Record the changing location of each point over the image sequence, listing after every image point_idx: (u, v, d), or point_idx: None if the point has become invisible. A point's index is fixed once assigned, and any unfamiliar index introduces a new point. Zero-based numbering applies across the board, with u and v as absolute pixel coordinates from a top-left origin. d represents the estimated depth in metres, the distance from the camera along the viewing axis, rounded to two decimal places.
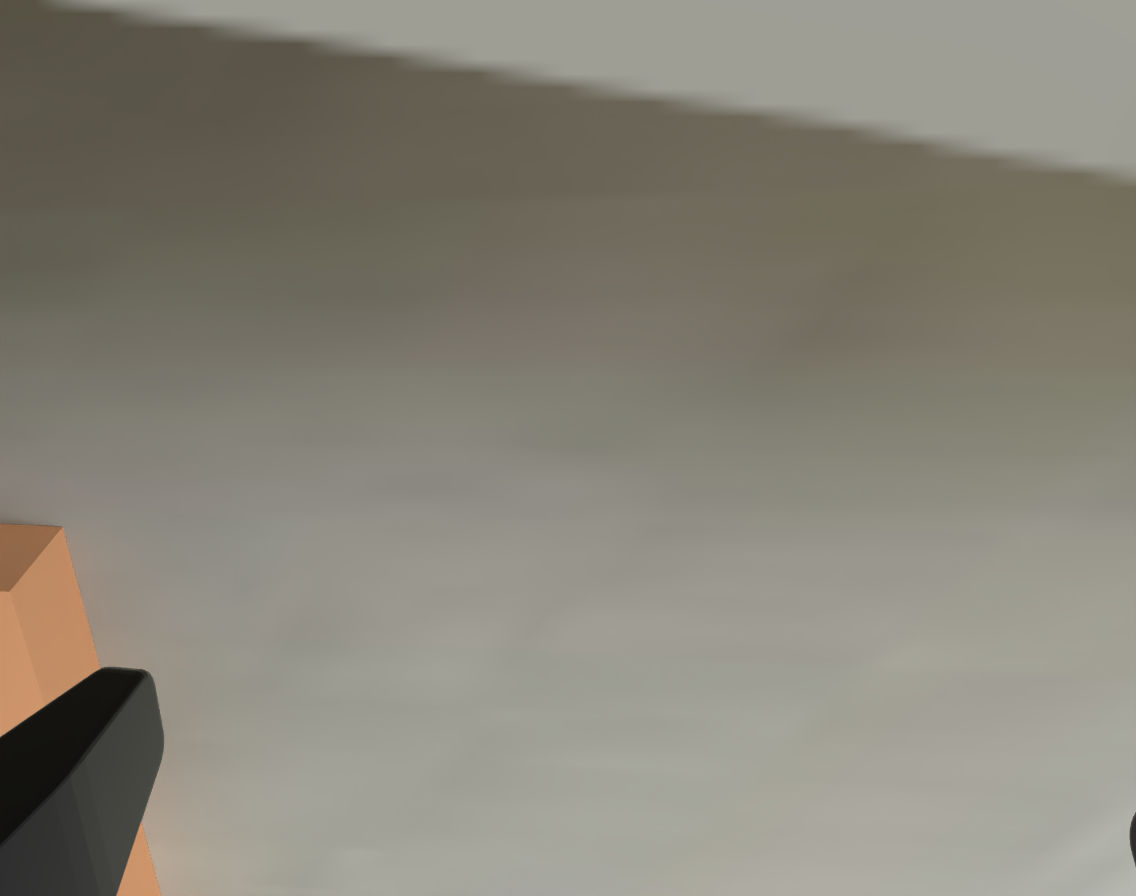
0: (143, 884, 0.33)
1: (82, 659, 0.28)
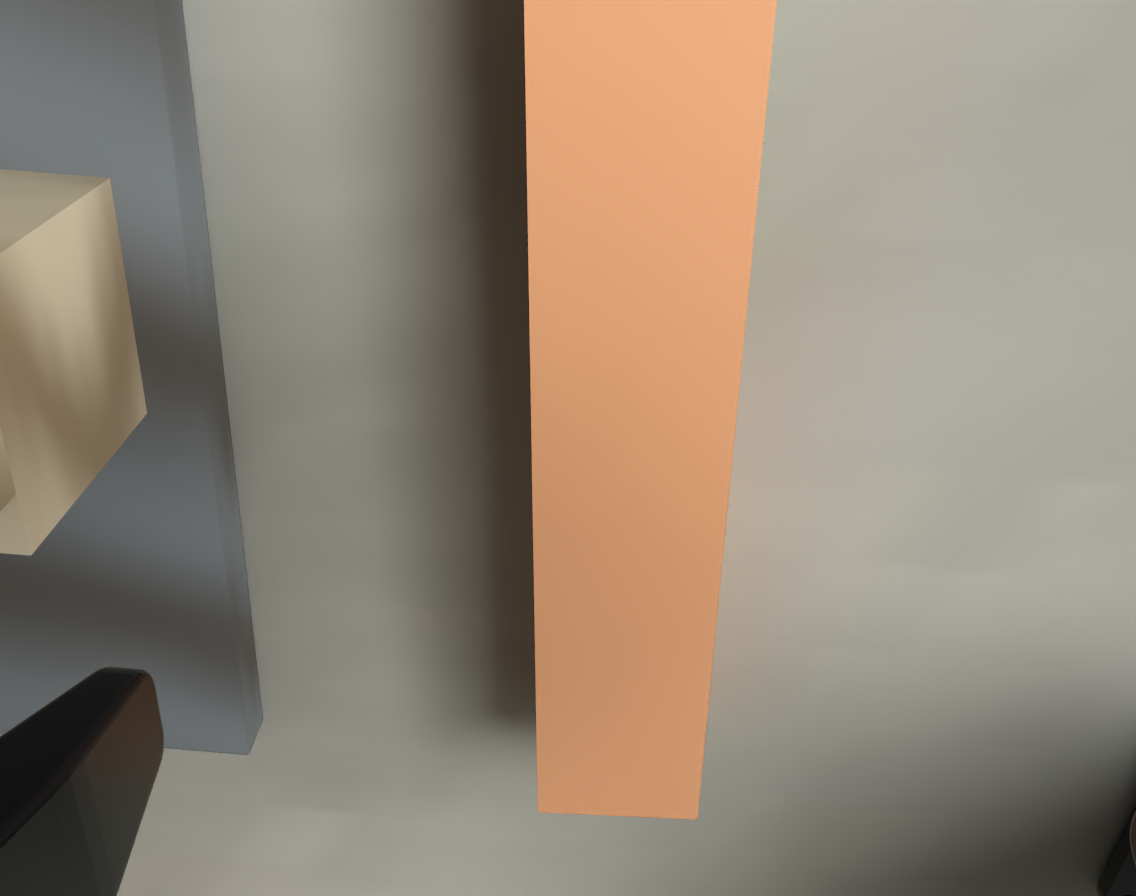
0: None
1: None
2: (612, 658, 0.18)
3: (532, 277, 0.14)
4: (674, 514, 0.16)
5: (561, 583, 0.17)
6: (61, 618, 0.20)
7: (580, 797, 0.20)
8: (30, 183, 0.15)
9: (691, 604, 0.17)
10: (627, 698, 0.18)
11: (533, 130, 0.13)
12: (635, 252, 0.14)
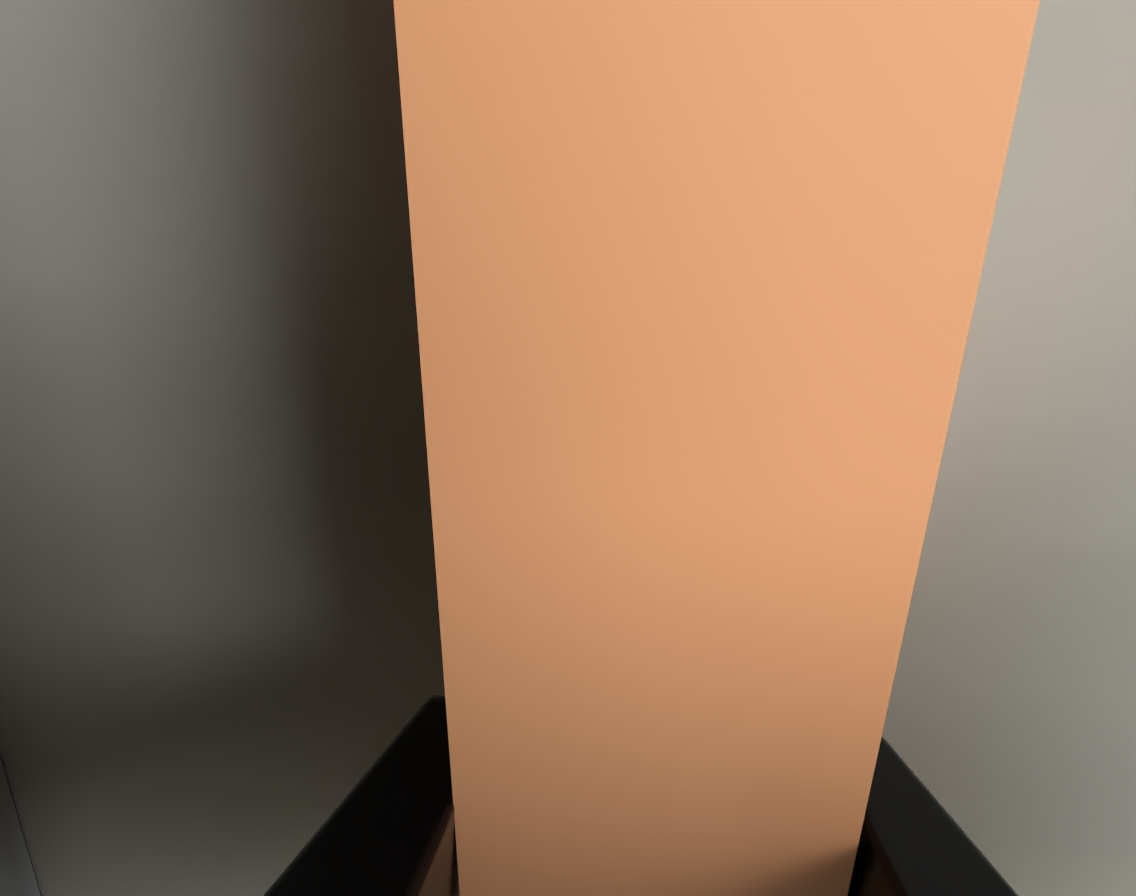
0: None
1: None
2: None
3: (454, 714, 0.07)
4: None
5: None
6: None
7: None
8: None
9: None
10: None
11: (444, 472, 0.06)
12: (655, 681, 0.07)
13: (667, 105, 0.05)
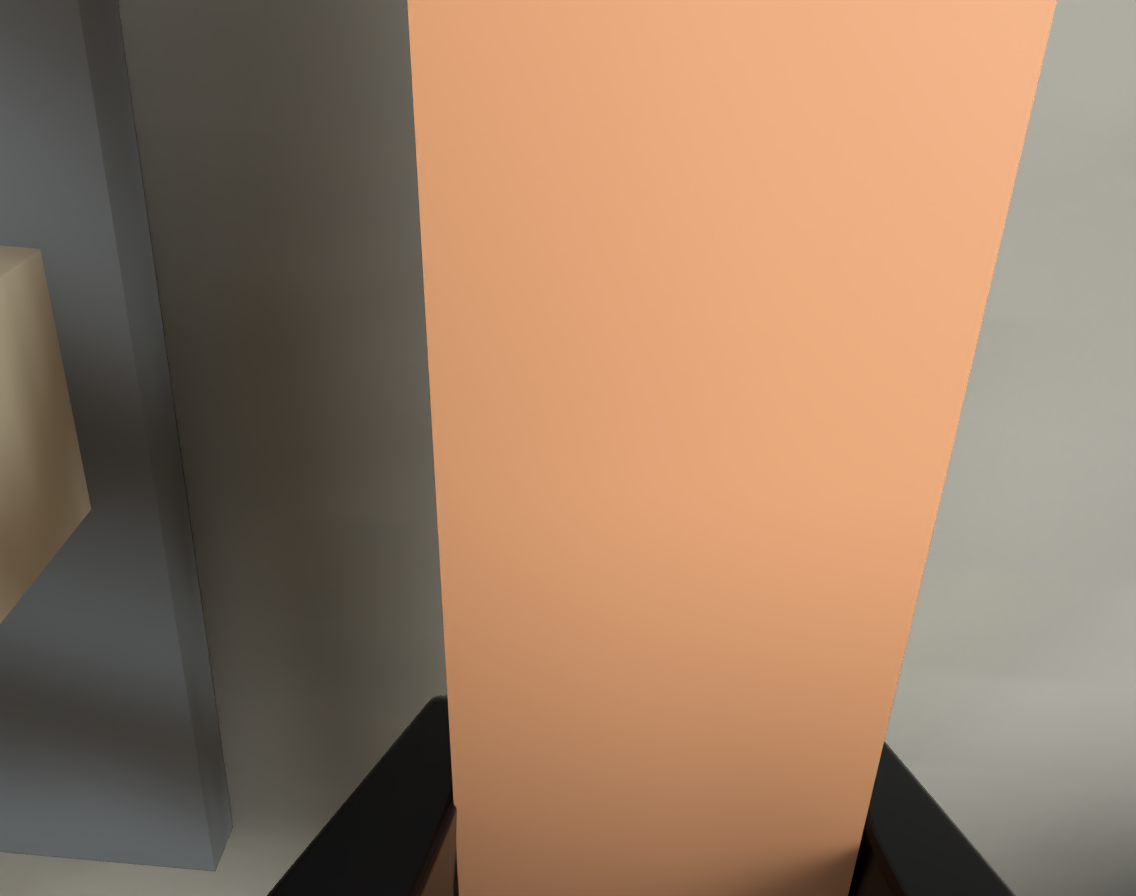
0: None
1: None
2: None
3: (456, 711, 0.07)
4: None
5: None
6: (2, 727, 0.18)
7: None
8: None
9: None
10: None
11: (450, 467, 0.06)
12: (659, 680, 0.07)
13: (682, 99, 0.05)
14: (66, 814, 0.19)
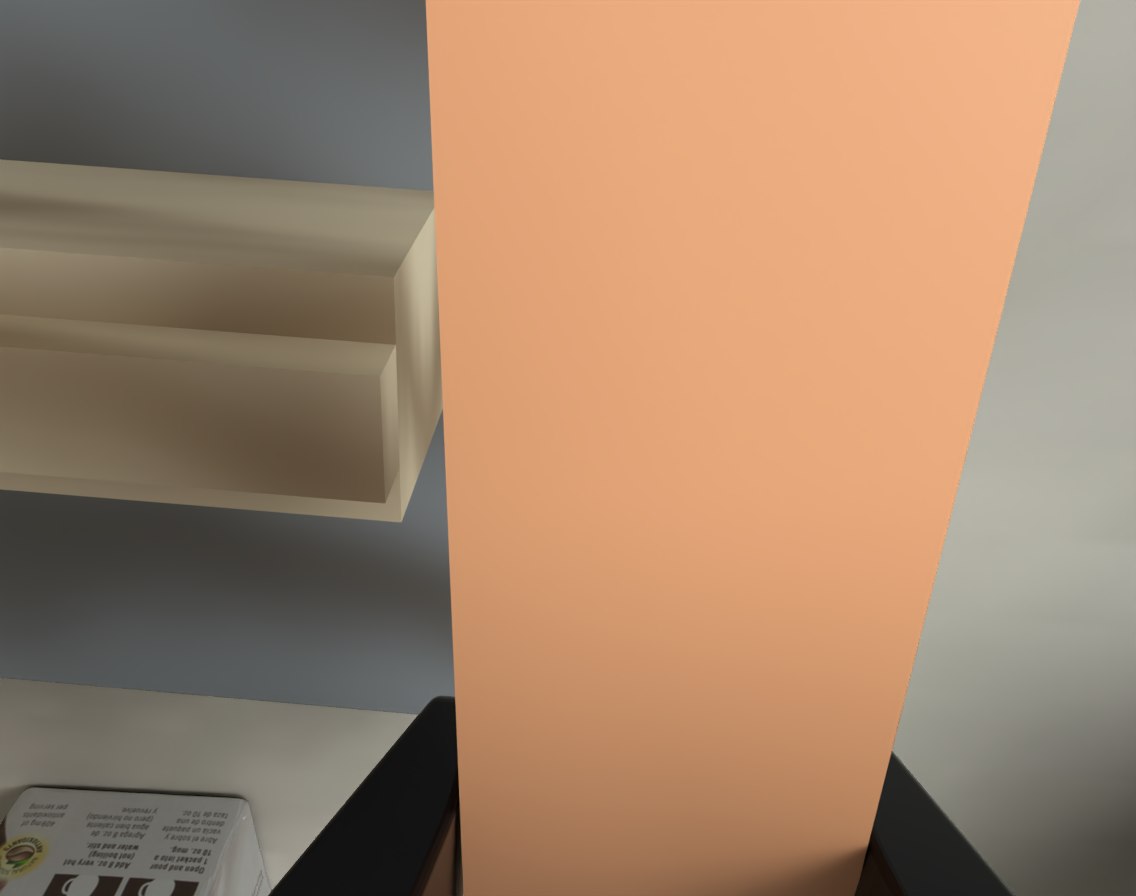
0: None
1: None
2: None
3: (463, 713, 0.07)
4: None
5: None
6: (337, 592, 0.22)
7: None
8: (381, 196, 0.17)
9: None
10: None
11: (461, 468, 0.06)
12: (668, 685, 0.07)
13: (700, 101, 0.05)
14: (375, 670, 0.23)
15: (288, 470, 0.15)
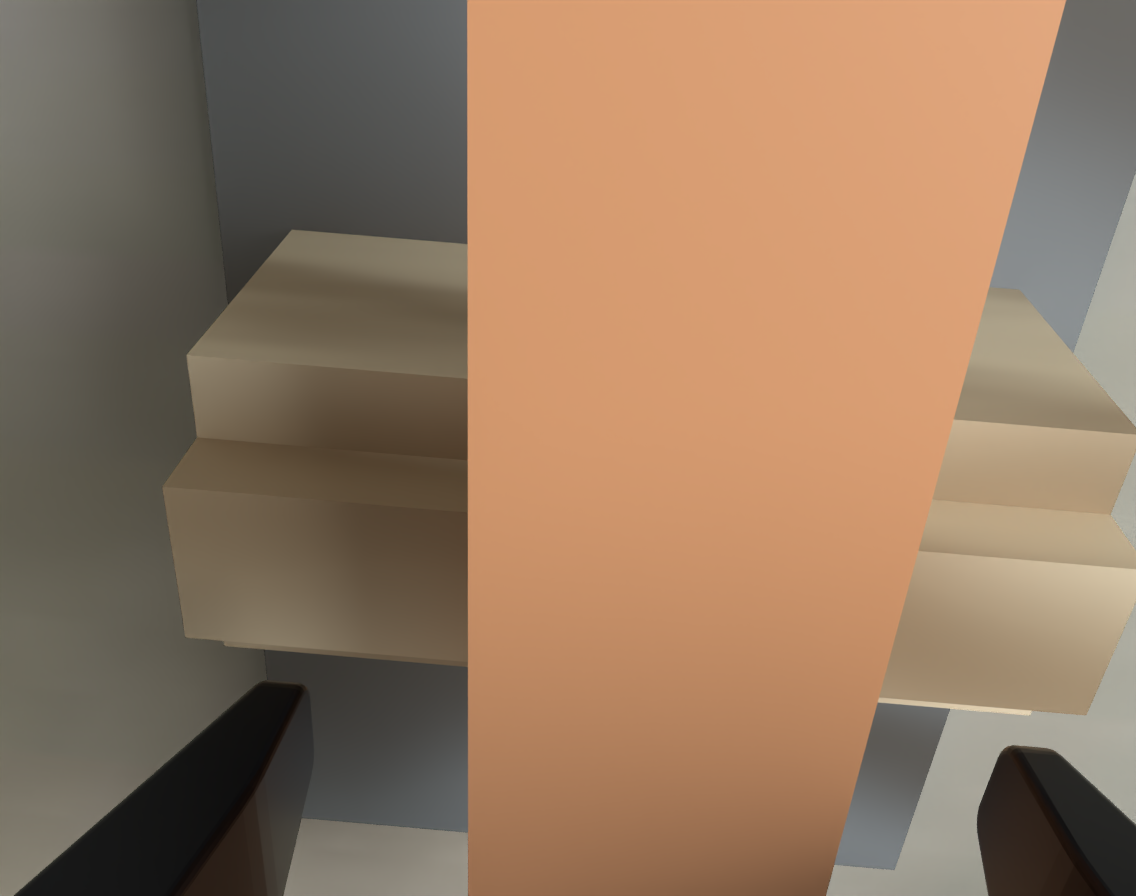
0: None
1: None
2: None
3: (475, 661, 0.08)
4: None
5: None
6: None
7: None
8: None
9: None
10: None
11: (482, 424, 0.07)
12: (669, 634, 0.07)
13: (718, 82, 0.06)
14: None
15: (973, 675, 0.11)
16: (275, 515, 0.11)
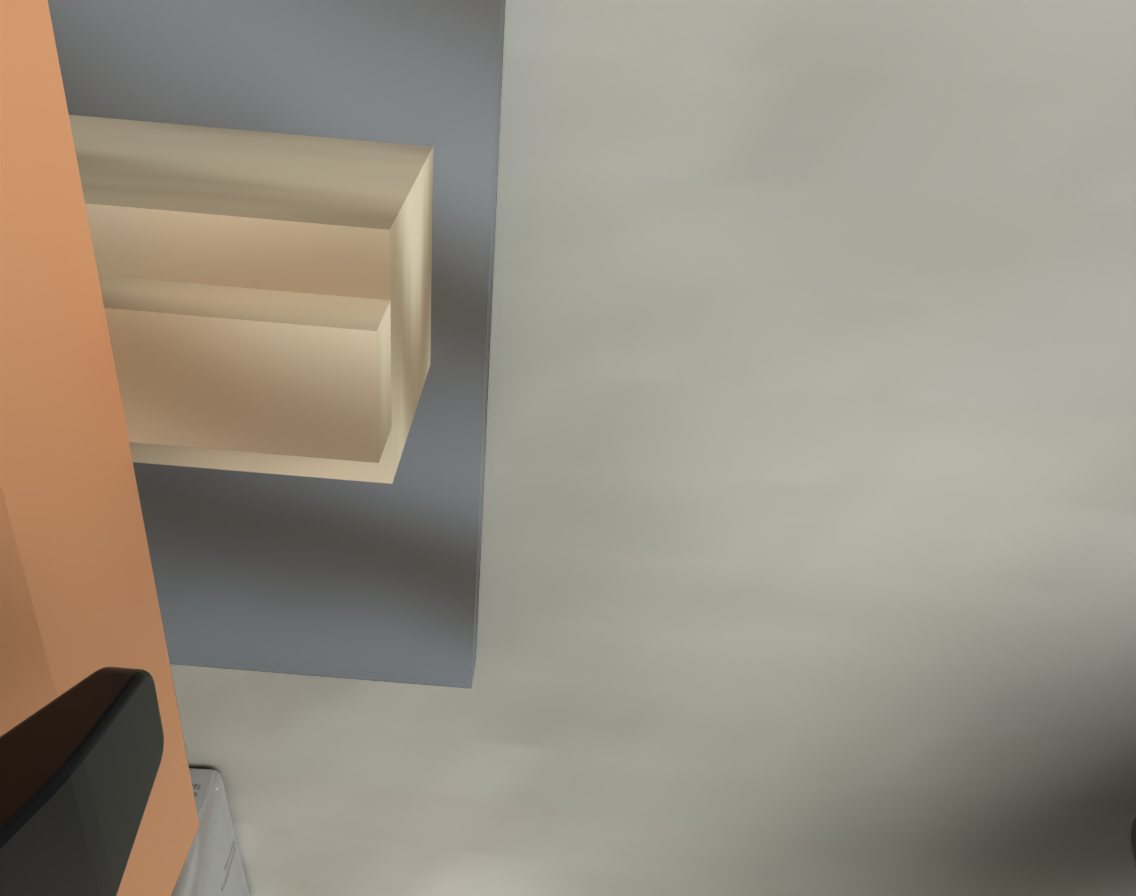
0: (133, 660, 0.15)
1: None
2: None
3: None
4: None
5: None
6: (316, 558, 0.22)
7: None
8: (370, 151, 0.17)
9: None
10: None
11: None
12: None
13: None
14: (354, 637, 0.23)
15: (279, 428, 0.14)
16: None
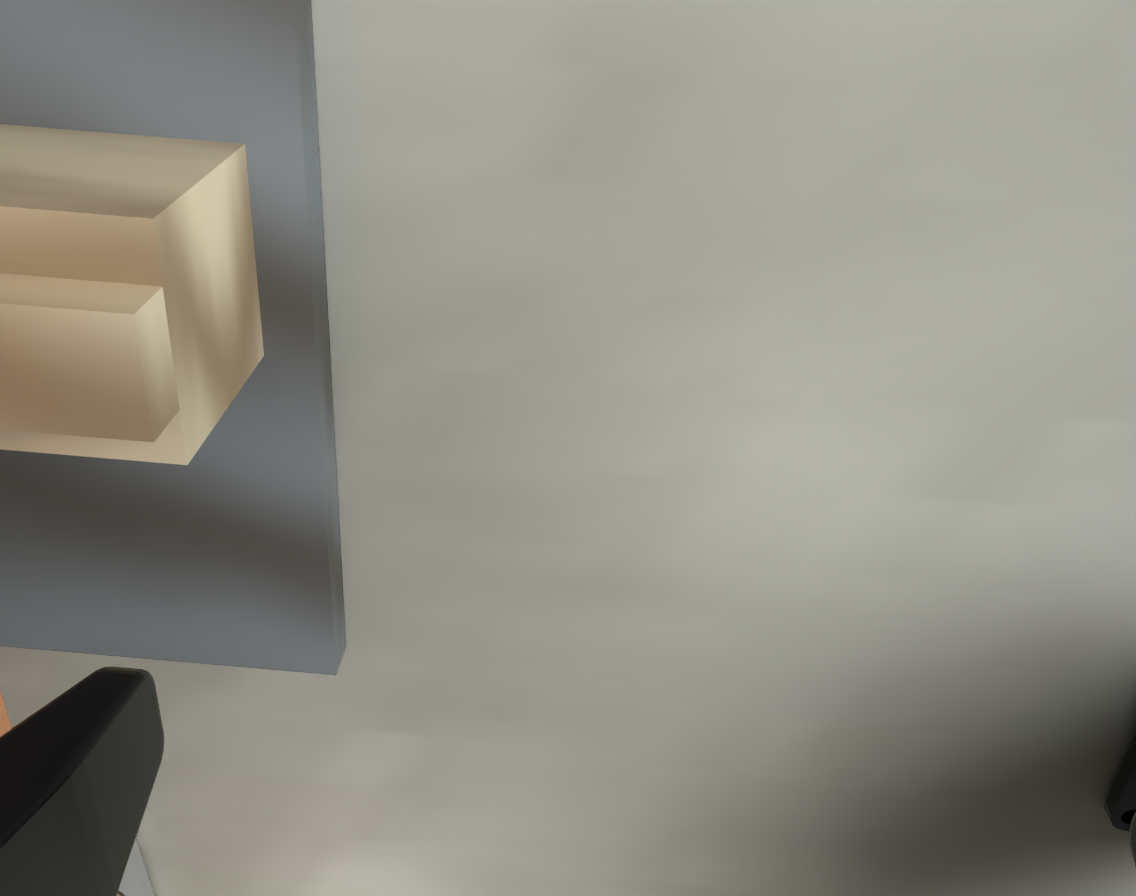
0: None
1: None
2: None
3: None
4: None
5: None
6: (174, 545, 0.22)
7: None
8: (179, 148, 0.17)
9: None
10: None
11: None
12: None
13: None
14: (219, 624, 0.23)
15: (56, 409, 0.15)
16: None
